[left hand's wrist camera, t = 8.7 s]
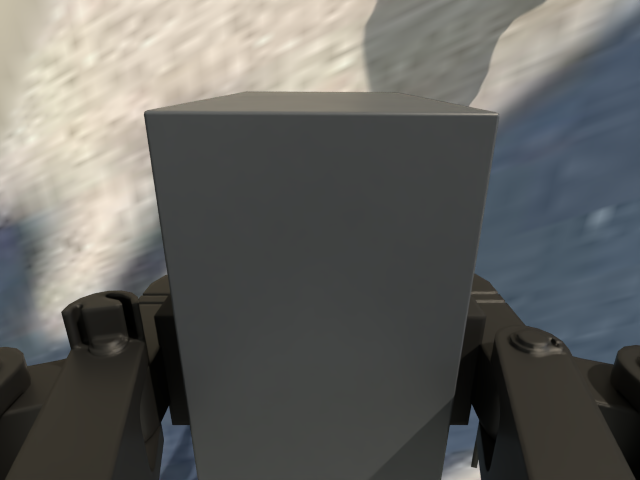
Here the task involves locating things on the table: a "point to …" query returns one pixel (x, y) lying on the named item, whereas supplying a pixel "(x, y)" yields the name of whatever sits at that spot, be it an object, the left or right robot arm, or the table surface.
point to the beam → (320, 276)
